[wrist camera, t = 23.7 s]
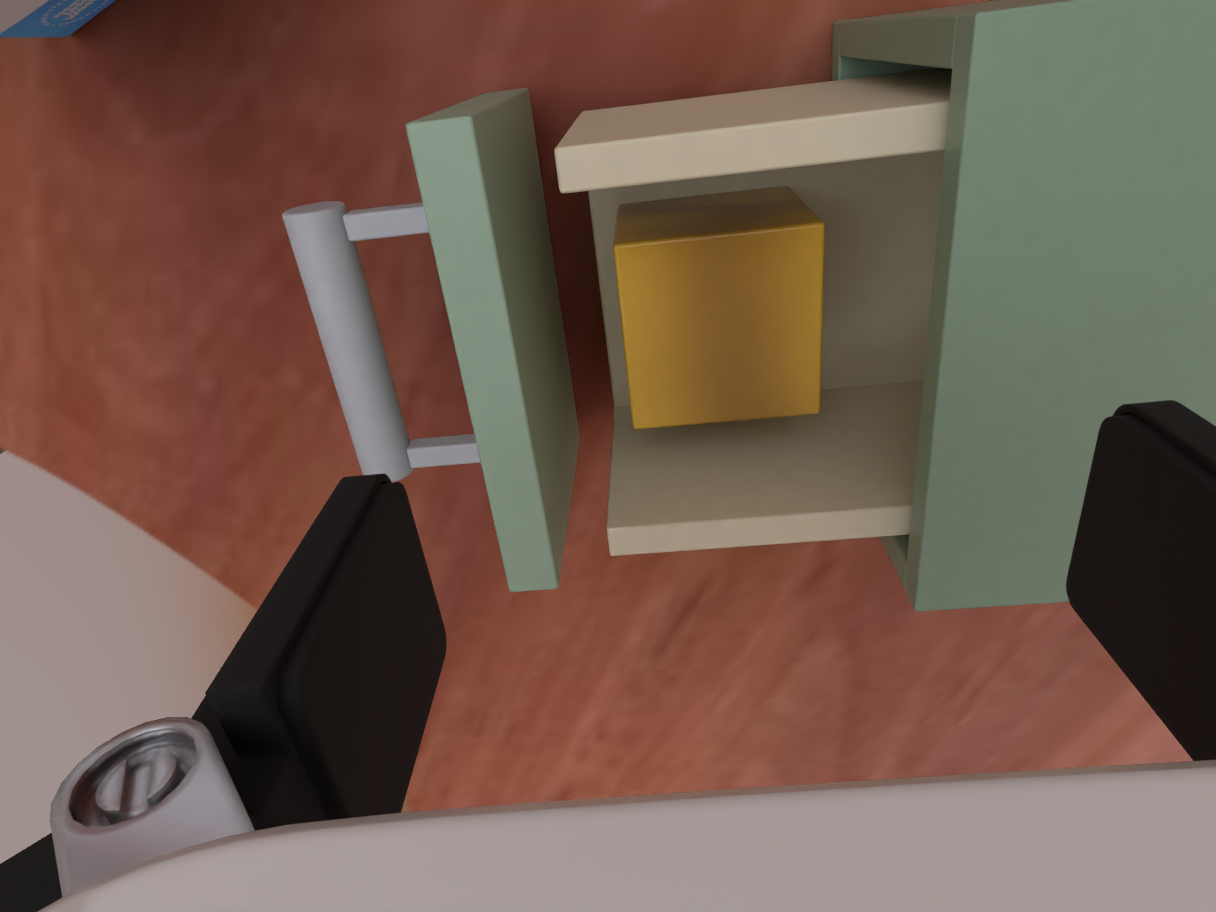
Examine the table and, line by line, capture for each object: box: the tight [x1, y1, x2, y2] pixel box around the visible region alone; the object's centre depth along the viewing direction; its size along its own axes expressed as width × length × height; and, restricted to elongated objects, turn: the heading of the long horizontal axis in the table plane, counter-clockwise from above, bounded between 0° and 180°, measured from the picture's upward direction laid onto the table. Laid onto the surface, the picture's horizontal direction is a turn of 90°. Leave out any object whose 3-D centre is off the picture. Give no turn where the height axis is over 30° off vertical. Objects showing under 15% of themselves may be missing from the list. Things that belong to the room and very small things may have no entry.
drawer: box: [282, 68, 952, 592], centre depth 19 cm, size 18×10×8 cm, turn 97°
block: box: [613, 186, 825, 429], centre depth 19 cm, size 4×4×4 cm
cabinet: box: [832, 0, 1216, 611], centre depth 18 cm, size 15×12×10 cm
